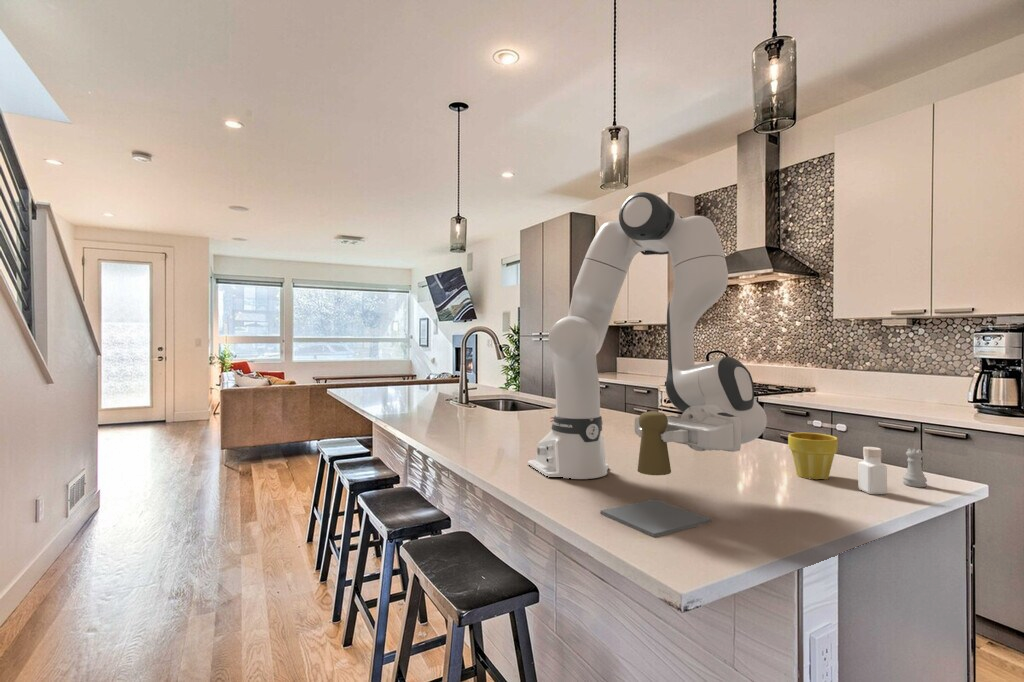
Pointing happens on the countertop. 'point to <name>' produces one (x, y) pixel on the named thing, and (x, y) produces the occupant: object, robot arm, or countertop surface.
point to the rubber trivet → (655, 517)
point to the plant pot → (812, 453)
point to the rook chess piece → (914, 469)
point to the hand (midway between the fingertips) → (651, 434)
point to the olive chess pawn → (653, 445)
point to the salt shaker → (872, 472)
